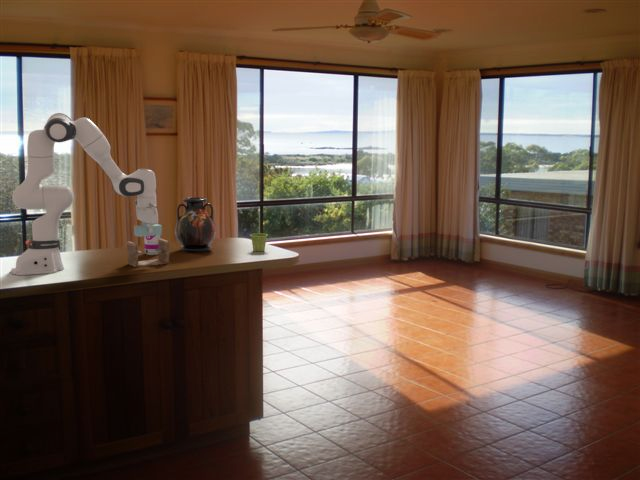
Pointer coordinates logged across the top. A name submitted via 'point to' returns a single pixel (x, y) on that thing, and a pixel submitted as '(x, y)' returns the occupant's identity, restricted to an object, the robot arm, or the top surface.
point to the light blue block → (143, 230)
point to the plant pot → (258, 241)
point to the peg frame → (133, 260)
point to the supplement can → (151, 244)
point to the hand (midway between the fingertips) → (147, 231)
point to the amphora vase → (195, 226)
